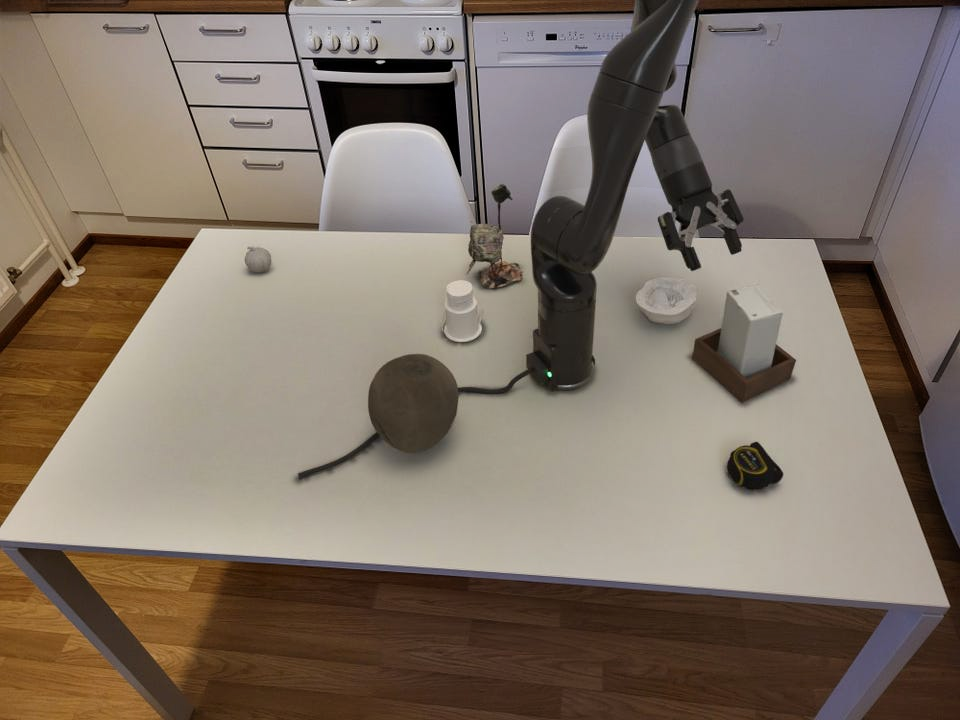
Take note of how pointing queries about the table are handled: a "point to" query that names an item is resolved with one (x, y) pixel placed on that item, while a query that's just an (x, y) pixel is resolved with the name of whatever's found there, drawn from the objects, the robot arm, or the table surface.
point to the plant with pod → (492, 248)
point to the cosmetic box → (749, 330)
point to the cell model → (667, 299)
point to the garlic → (258, 259)
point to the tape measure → (753, 467)
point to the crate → (733, 378)
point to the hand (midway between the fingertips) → (716, 261)
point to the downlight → (461, 313)
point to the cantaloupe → (413, 402)
